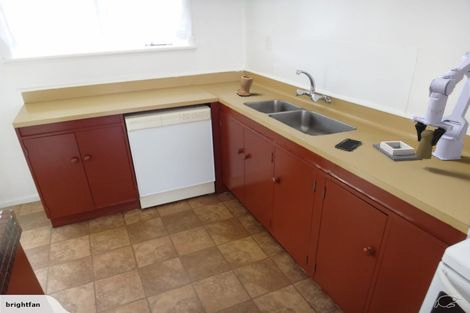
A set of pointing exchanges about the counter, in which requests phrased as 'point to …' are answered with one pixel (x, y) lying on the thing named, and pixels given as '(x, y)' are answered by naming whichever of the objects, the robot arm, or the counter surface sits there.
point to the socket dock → (396, 150)
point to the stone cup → (245, 86)
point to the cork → (425, 145)
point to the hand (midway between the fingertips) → (426, 143)
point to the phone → (348, 144)
